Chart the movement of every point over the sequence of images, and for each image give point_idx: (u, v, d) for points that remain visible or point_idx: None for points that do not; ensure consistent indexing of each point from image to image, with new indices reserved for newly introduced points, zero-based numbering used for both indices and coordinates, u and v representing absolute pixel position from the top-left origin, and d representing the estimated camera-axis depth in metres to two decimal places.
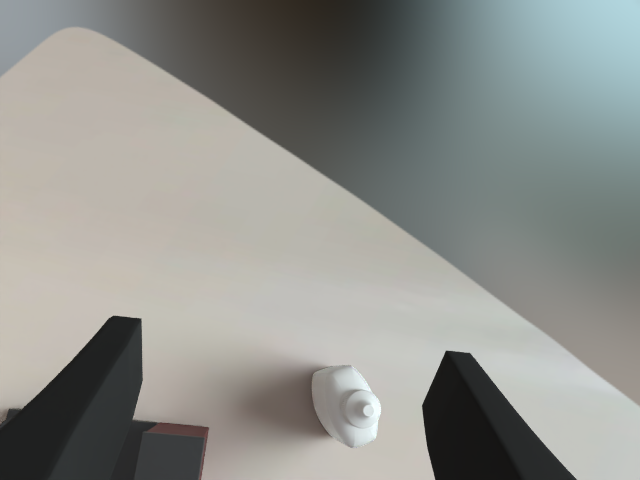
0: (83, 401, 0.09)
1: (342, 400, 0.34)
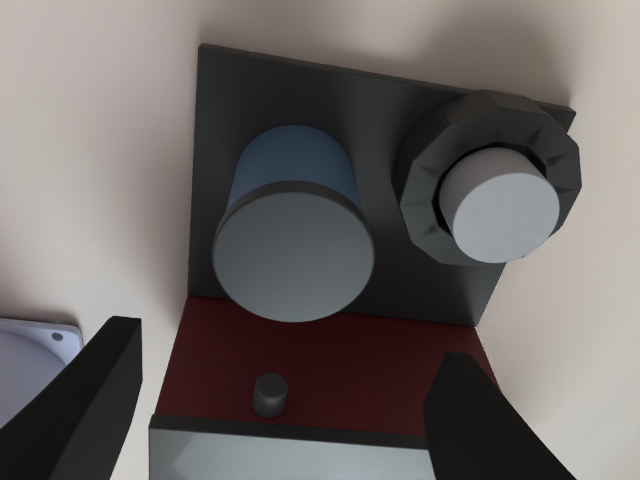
0: (83, 401, 0.09)
1: None
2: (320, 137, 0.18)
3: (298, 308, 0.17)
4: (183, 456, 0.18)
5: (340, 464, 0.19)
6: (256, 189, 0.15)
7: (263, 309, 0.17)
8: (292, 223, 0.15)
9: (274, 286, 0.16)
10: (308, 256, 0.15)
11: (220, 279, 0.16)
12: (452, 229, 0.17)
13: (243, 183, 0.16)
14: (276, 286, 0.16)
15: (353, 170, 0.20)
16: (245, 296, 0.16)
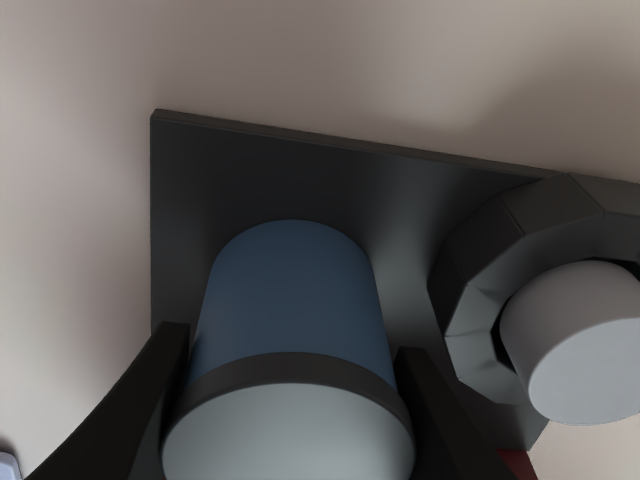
0: (147, 406, 0.09)
1: None
2: (328, 241, 0.13)
3: None
4: None
5: None
6: (228, 368, 0.09)
7: None
8: (286, 422, 0.09)
9: None
10: (312, 460, 0.10)
11: None
12: (527, 386, 0.12)
13: (211, 334, 0.10)
14: None
15: (374, 277, 0.14)
16: None
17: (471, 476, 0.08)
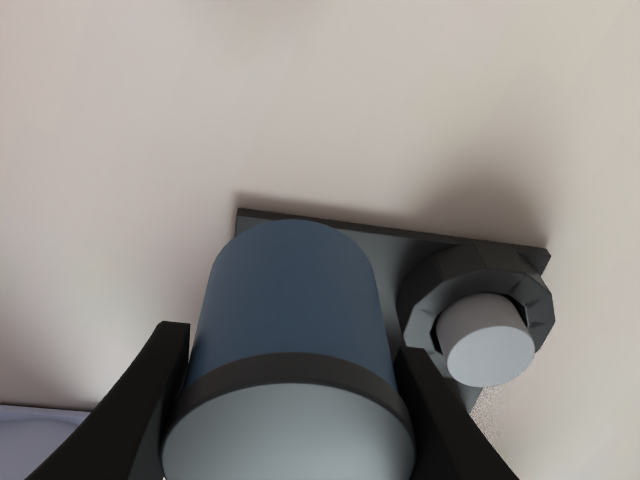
0: (147, 406, 0.09)
1: None
2: (328, 240, 0.13)
3: None
4: None
5: None
6: (228, 367, 0.09)
7: None
8: (286, 422, 0.09)
9: None
10: (312, 459, 0.10)
11: None
12: (446, 364, 0.21)
13: (212, 334, 0.10)
14: None
15: (374, 277, 0.14)
16: None
17: (471, 476, 0.08)
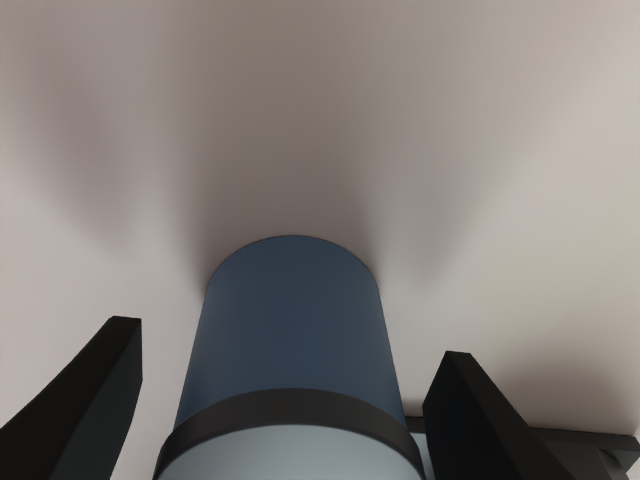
0: (83, 401, 0.09)
1: None
2: (331, 259, 0.12)
3: None
4: None
5: None
6: (223, 405, 0.08)
7: None
8: (287, 464, 0.08)
9: None
10: None
11: None
12: None
13: (206, 363, 0.10)
14: None
15: (379, 295, 0.13)
16: None
17: None
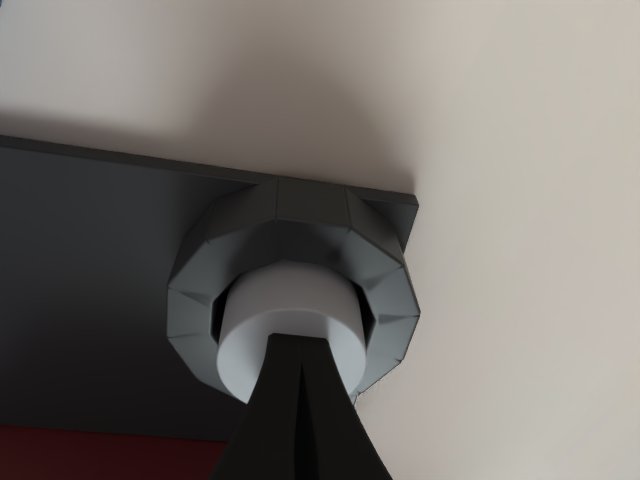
0: (288, 418, 0.09)
1: None
2: None
3: None
4: None
5: None
6: None
7: None
8: None
9: None
10: None
11: None
12: (220, 376, 0.12)
13: None
14: None
15: None
16: None
17: (333, 466, 0.08)
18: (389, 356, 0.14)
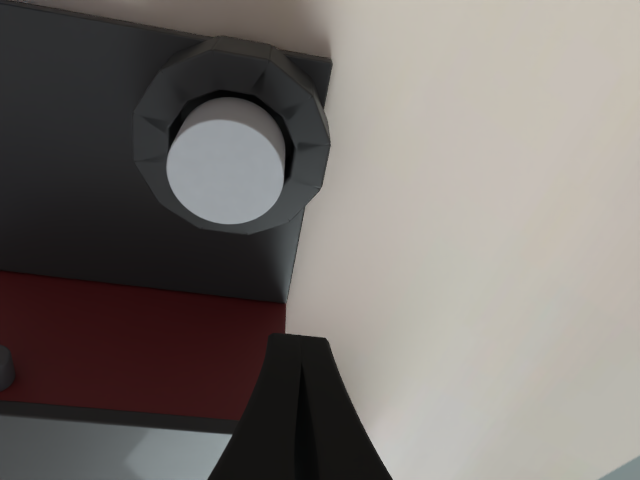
0: (288, 418, 0.09)
1: None
2: None
3: None
4: None
5: (72, 444, 0.17)
6: None
7: None
8: None
9: None
10: None
11: None
12: (170, 185, 0.16)
13: None
14: None
15: None
16: None
17: (333, 466, 0.08)
18: (309, 183, 0.18)
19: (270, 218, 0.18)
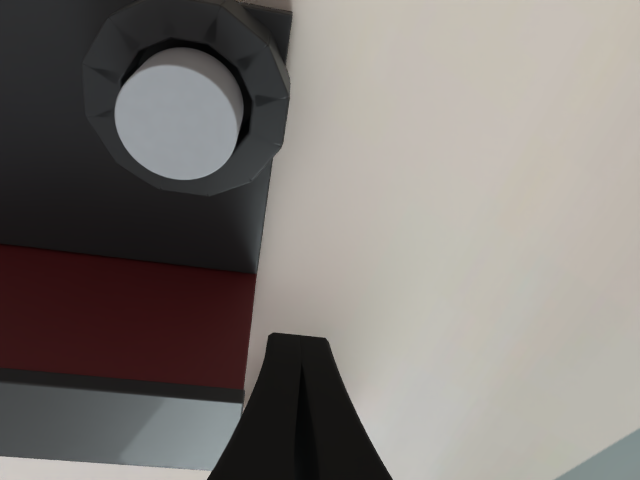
0: (288, 418, 0.09)
1: None
2: None
3: None
4: None
5: (25, 409, 0.17)
6: None
7: None
8: None
9: None
10: None
11: None
12: (120, 137, 0.15)
13: None
14: None
15: None
16: None
17: (333, 466, 0.08)
18: (269, 140, 0.17)
19: (231, 178, 0.18)
